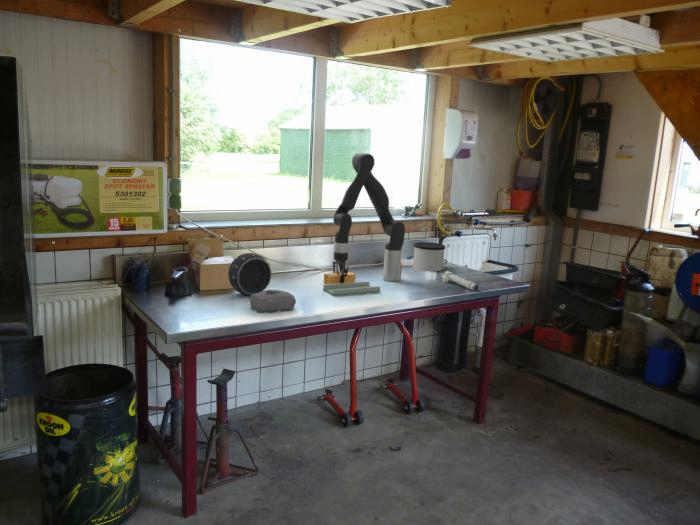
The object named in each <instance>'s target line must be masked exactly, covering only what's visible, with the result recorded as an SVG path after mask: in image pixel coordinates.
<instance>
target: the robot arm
mask: <svg viewBox="0 0 700 525" xmlns="http://www.w3.org/2000/svg"><path fill="white" fill-rule="evenodd" d="M351 165H352V168H353V169H354V171H355V172H356V176H355V177H354V179H353V180H352V182H351V183H350V184H349V186H348V188H347V189H346V190H345V193H344V196H343V198H342V200H341V203H340V205H338V208H336V210H335V212H334V215H333V223H334V224H335V225H336V226H339V229H338V230H337V231H336V232H335V234H334V246H333V260H335V261H332V270H333V274H336V273H340V283H344V277H347V273H349V265H347V263H346V262H347V261H349V235H350V232H351V228H352V224H353V220H352V216H351V215H350V214H349V212H350V211H352V210H354V208H355V206H356V203H357V202H358V199H359V196H360V194H361V191H362V189H363V187H364V189H365V191H366V193H367V196H368V198H369V200H370V202H371V203H372V206H373V208H374V210H375V212H376V214H377V215H378V216H377V217H378V219H379V222H380V225H381V227H382V229H383V232H384V233H385V235H386V236H388V237H389V238H390V239H389V242H387V243H385V244H384V245H385V246H384V254H383V255H384V256H383V258H384V260H383V272H382V279H383V280H384V281H387V282H399V281H402V271H403V264H402V251H403V250H402V249H403V246H404V243H405V235H406V234H405V233H406V227H405V224H404V222H402V221H400V220H396V219H394V218H393V215H392V213H391V211H390V199H389V196H388V194H387V192H386V189H385V187H384V186H383V185H382V183H381V182H380V181H379V180H378V179H377V178H376V176H374V175H373V173H372V170H373V169H374V167H375V158H374V156H373V154H370V153H366V152H365V153H364V152H357V153H355V154H353V156H352V158H351Z"/></svg>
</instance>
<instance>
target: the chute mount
mask: <svg viewBox="0 0 700 525" xmlns="http://www.w3.org/2000/svg"><path fill="white" fill-rule="evenodd" d="M322 290H323V291H324V292H325V293H327V294H330V295H332V296H333V297H343V296H344V297H345V296H356V295H355V294H358V295H367V293H370V294H380V293H381V286H378V285H377V286H371V285H370V281H355V282H351V283H337V284H324V283H323V288H322ZM379 292H380V293H379Z"/></svg>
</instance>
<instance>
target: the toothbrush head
mask: <svg viewBox="0 0 700 525" xmlns="http://www.w3.org/2000/svg"><path fill="white" fill-rule="evenodd" d="M441 277H442V279H441V280H442V282H443V283H447V282H451V283H452V282H455V283H457V284H458V285H461V286H463V288H464V287H465V288H467V289H468V290H469V289H471V290H470V291H472V290H473V291H472V292H476V291H475V290H477V291H478V290H479V285H478V284H477V283H475V282H474V281H471V280H468V279H465V278H463V277H460V276H458V275H456V274H453V273H452V272H451V271H450V270H449V271H448V270H445V272H444V274H443V275H442V276H441Z"/></svg>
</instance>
